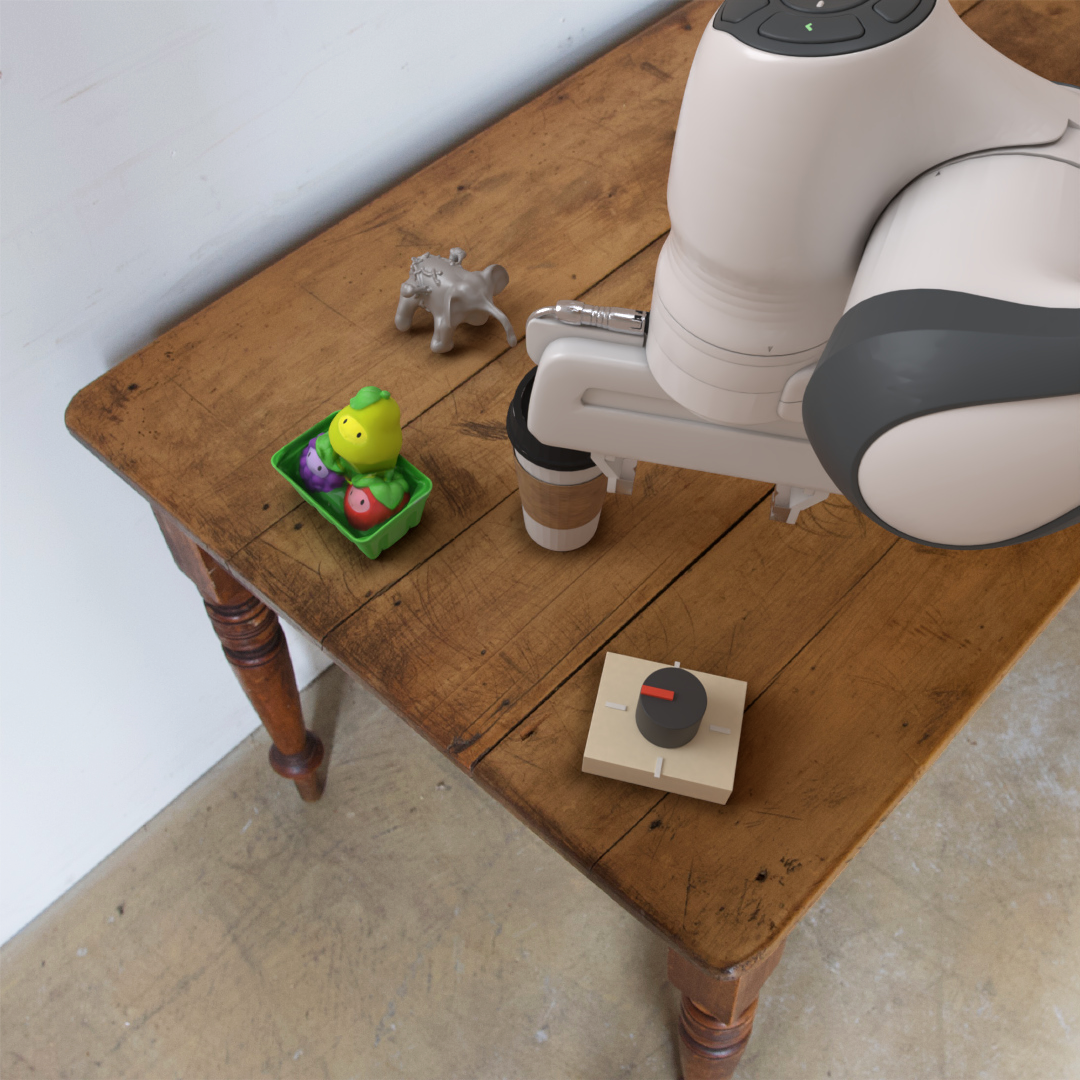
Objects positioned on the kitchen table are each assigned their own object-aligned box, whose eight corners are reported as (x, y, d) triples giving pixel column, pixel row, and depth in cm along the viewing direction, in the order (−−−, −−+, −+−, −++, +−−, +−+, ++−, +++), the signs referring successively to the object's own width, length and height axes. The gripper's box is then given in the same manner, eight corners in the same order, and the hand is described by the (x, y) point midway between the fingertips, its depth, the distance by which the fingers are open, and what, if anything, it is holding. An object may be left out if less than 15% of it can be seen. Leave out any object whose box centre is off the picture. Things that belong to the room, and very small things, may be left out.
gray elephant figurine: (428, 282, 94) (420, 217, 88) (545, 317, 92) (547, 252, 86) (384, 349, 90) (373, 286, 83) (507, 387, 87) (505, 325, 81)
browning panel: (740, 695, 72) (748, 677, 69) (724, 809, 68) (732, 794, 65) (605, 665, 73) (608, 646, 71) (580, 775, 69) (582, 759, 66)
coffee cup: (625, 493, 81) (642, 368, 69) (596, 577, 77) (609, 461, 64) (527, 467, 83) (527, 340, 70) (494, 549, 78) (487, 430, 66)
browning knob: (704, 696, 69) (712, 672, 65) (694, 755, 66) (702, 734, 63) (641, 682, 69) (646, 658, 66) (629, 740, 67) (634, 718, 64)
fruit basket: (278, 496, 81) (245, 406, 71) (361, 435, 84) (340, 342, 75) (370, 581, 77) (348, 497, 67) (453, 513, 80) (443, 424, 71)
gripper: (510, 343, 46) (515, 511, 57) (965, 416, 44) (874, 575, 55) (538, 251, 49) (537, 428, 61) (962, 314, 47) (876, 485, 59)
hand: (700, 498), depth 58 cm, fingers open, 8 cm apart
